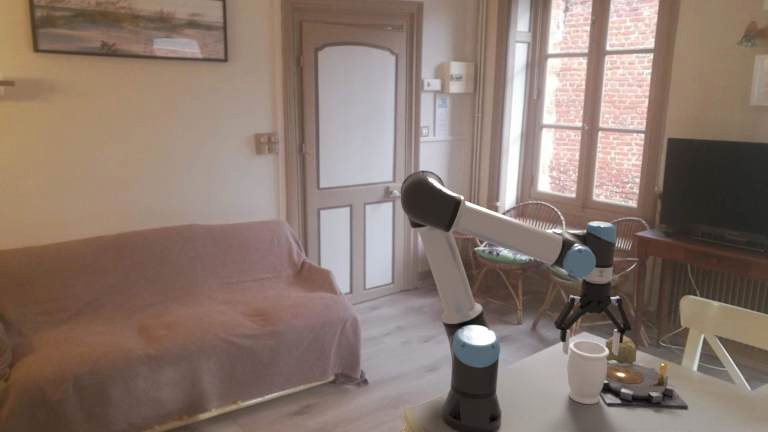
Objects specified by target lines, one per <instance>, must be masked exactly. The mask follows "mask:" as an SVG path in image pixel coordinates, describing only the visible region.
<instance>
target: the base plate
mask: <svg viewBox="0 0 768 432" xmlns="http://www.w3.org/2000/svg"><path fill="white" fill-rule="evenodd" d="M647 368H648V369H651V370H653V371H655V372H658V371H657V369H656V368H655V367H654V368H653V367H647ZM599 397H600V398H601V399H602V401H603V402H604V403H605V406H614V407H615V406H616V407H617V406H618V407H640V408H641V407H645V408H649V407H650V408H668V409H669V408H670V409H671V408H674V409H688V408H689V405H688V404H687V403H686V402H685V401H684V400H683V398H682V397H681V396H680V395H679V394H678V393H677V391H675V390H674V391H673V395H672V396H670V395H666V394H664V395H663V397H662V402H656V403H652V402H651V401H649V400H648V399H636V398H632V401H630V400H626V399H623V398H620V394H618V393H615V392H613V391H611V390H610V389H602V390H601V392H600V393H599Z"/></svg>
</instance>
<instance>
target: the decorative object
mask: <svg viewBox="0 0 768 432" xmlns="http://www.w3.org/2000/svg"><path fill="white" fill-rule="evenodd" d="M612 344H613V336H612V337H610V338H608V339H607V340H606V341H605V345H604V346H605V347H607V348H608V350H609V354H608V356H607V357H606V358H607V361H610V360H615V361H617V362H618V363H629V364H633V362H636V359H637V348H636V345H635V344H634V342H633V340H632V339H631V338H629V337H627V336H626V335H623V342H622V343H619V350H618V356H615V355H614V353H613V352H612Z"/></svg>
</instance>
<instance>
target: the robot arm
mask: <svg viewBox="0 0 768 432" xmlns="http://www.w3.org/2000/svg"><path fill="white" fill-rule="evenodd" d="M400 205H401V208H402V210H403V212H404V213H405V215H406V216H407V218H408V223H409V225H410V228H411V229H412V230H414V231H416V232H417V233H418V234H419V237H420V241H421V243H422V246H423V250H424V252H425V256H426V258H427V259H426V260H427V261H428V264H429V268H430V270H431V274H432V277H433V281H434V283H435V285H436V288H437V292H438V295H439V298H440V301H441V304H442V307H443V310H444V312H443V313H442V315H441V321H442V325H443V328H444V331H445V334H446V336H447V340H448V343H449V349H450V356H451V378H450V379H451V380H450V389H449V391H448V393H447V396H446V398H445V401H444V403H443V406H442V419H443V421H444V422H445V423H446V424H447V426H449V427H450V428H452V429H453V430H456V431H459V432H494V431H495V430H497V429H498V428H499V427H500V426H501V424H502V410H501V406H500V403H499V399H498V395H497V387H498V373H499V363H500V361H499V360H500V359H499V358H500V354H501V345H500V343H501V342H500V338H499V336H498V335H497V333H496V332H494V331H493V329H490V326H489V323H488V321H487V317H486V316H485V311H484V309H483V306H482V305H481V303H478V302H475V301H476V300H475V299H474V296H473V293H472V290H471V289H472V288H471V287H470V282H469V280H468V276H467V273H466V271H465V267H464V264H463V260H462V259H461V258H462V257H461V254H460V252H459V249H458V246H457V242H456V238H455V236H454V233H453V232H458V233H460V234H463V235H465V236H469V237H471V238H475V239H477V240H479V241H483V242H486V243H489V244H491V245H495V246H497V247H500V248H503V249H506V250H508V251H511V252H514V253H517V254H520V255H523V256H525V257H529V258H532V260H536V261H540V262H542V263H545V264H548V265H551V266H553V267H556V268H559V269H560V270H561V269H562V270H563V271H565V273H567V274H568V275H570V276H572V277H574V278H578V279H579V278H582V279H581V287H580V295H579V296H575V295H573V294H568V297H567V302H566V303H565V305H564V306H563V308H562V310H561V312H560V313H559V315H558V316H557V318H556V319H555V321H554V323H553V326H555V329H557V330H560V334H559V340H560V341H561V342H562V352H563V353H564V355H569V348H570V333H571V332H570V330H569V329H570V328H571V327H573V325H574V324H575V323H576V322H578V320H579V319H581V318H582V317H583V316H584V315H586V314H595V313H596V314H598V315H599V314H602V313H604V314H605V315H606V316H607V317H608V319H609V320H610V322H611V323H612V324H613V326H615V328H616V329H613V336H612V337H613V344H612V352H613V353H614V355H615V356H618V350H619V343H622V342H623V336H624V335H625V334H626V332H627V331H631V330H632V325H631V324H630V322H629V319H628V316H627V315H626V312H625V310H624V307H623V299H622V298H621V297H620V296H619V295H615V296H613V297H611V293H612V282H611V281H612V279H613V269H614V259H615V258H614V257H615V252H616V251H615V250H616V243H617V228H616V226H615V225H614V224H613V223H610V222H607V221H606V222H605V221H598V220H597V221H596V220H595V221H590V222H589V221H588V223H587V224H586V227H585V229H581V230H580V229H579V230H578V229H555V228H553V229H543V228H540V227H537V226H535V225H532V224H529V223H526V222H523V221H521V220H519V219H516V218H513V217H509V216H507V215H504V214H502V213H498V212H496V211H493V210H490V209H487V208H485V207H482V206H479V205H476V204H474V203H471V202H468V201H466V200H465V198H464V196H463V195H461V194H458V193H455V192H453V191H452V190H450V189H448V188H446V187H445V184H444V180H443V179H442V178H441V177H440V176H439V175H438V174H437V173H436V172H433V171H429V170H423V169H420V170H417V171H413V172H412V173H410V174H409V175H408V176H406V178H405V179H404V180H403V182H402V184H401V186H400ZM577 303H579V305H577ZM611 303H612V304H613V306H615V309H616V311H617V314H618V316H619V318H620V320H621V322H622V325H621V324H620V323H619V321H618V320H617V319H616V317H615V316H614V314H612V312H611V311H610V310H609V309H608V307H609V306H610V305H611ZM575 305H577V307H576V308H575V310H574V311H573V312H572V310H573V309H574V307H575ZM571 312H572V313H571ZM570 313H571V314H570Z"/></svg>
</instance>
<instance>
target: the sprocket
mask: <svg viewBox="0 0 768 432" xmlns="http://www.w3.org/2000/svg"><path fill="white" fill-rule="evenodd" d="M648 368H649V367H645V364H644V363H640V362H636V361H635V362H633V364H629V363H618V362H617V361H615V360H610V361H609V360H607V373H606V378H605V381H604V384H603V388H602V389H610V390H611V391H613V392H615V393H618V394H620V398H623V399H626V400H630V401H632V398H636V399H648V400H649V401H651V402H652V403H656V402H662V397H663V395H664V394H666V395H670V396H672V395H673V391H675V389H674V388H675V385H674V384H672V383H668V379H669V375H667V369H668V364H666V363H662V362H661V363H660V365H659V369H658V371H657V372H655V371H653V370H651V369H648Z"/></svg>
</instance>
